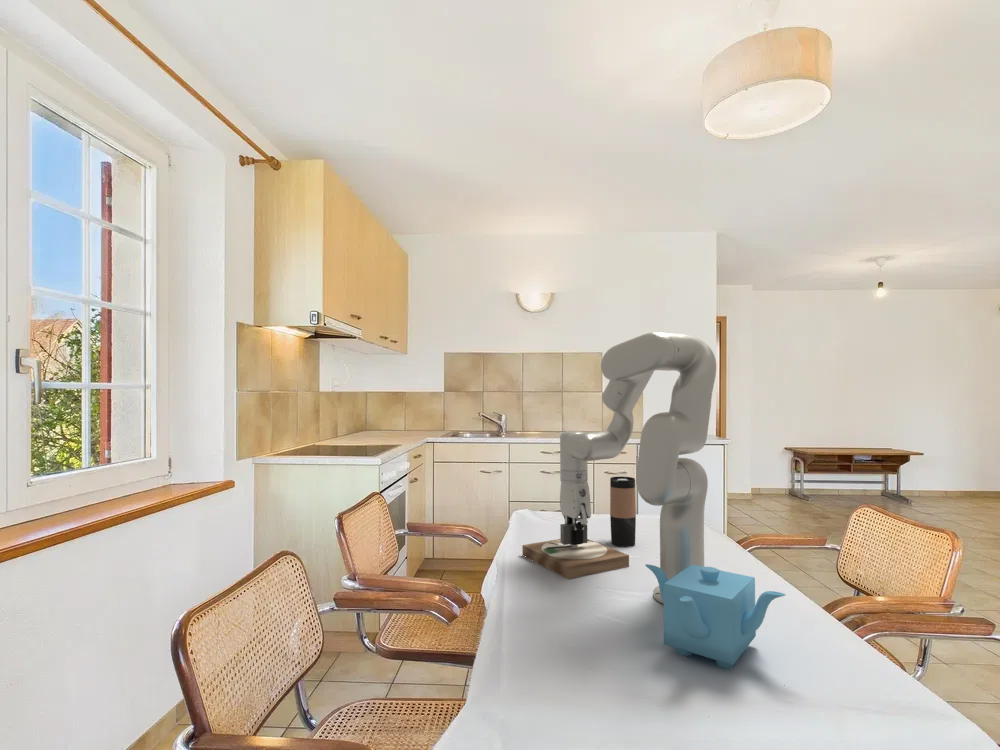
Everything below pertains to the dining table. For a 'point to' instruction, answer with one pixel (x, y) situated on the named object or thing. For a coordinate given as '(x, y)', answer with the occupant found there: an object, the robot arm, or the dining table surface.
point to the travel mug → (622, 511)
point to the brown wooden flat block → (575, 558)
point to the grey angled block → (569, 536)
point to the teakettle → (711, 612)
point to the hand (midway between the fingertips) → (574, 541)
